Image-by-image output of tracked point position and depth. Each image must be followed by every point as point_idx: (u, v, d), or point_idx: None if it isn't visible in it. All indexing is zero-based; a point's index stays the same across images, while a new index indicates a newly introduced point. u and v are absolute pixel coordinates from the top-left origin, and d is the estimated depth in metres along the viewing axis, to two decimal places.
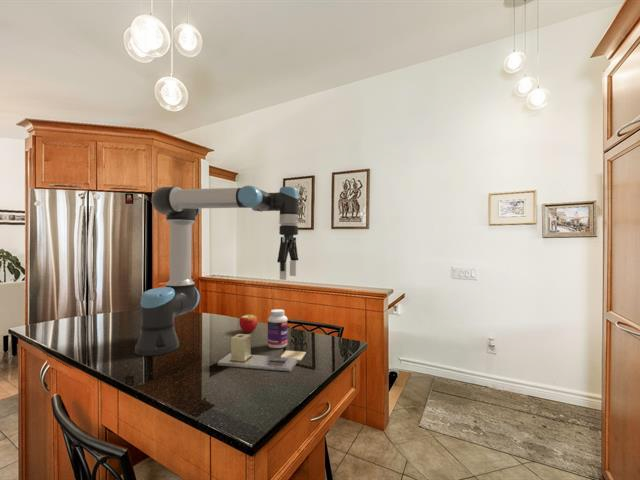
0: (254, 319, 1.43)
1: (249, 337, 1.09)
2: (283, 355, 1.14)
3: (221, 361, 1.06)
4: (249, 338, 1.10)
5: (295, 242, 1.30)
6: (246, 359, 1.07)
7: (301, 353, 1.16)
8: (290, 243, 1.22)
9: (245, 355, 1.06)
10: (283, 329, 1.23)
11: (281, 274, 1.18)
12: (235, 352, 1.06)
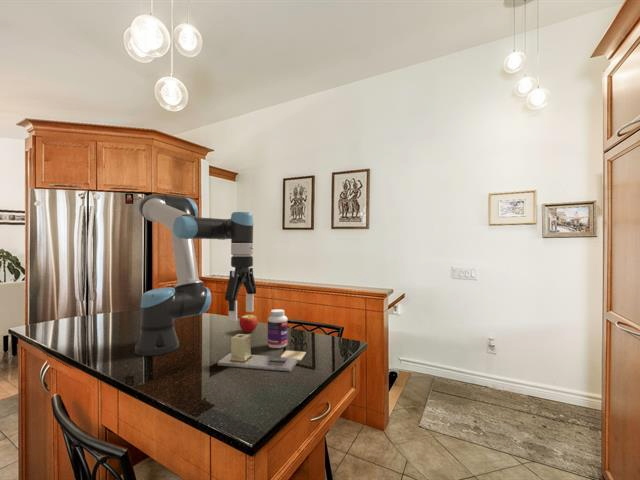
0: (254, 319, 1.43)
1: (249, 337, 1.09)
2: (283, 355, 1.14)
3: (221, 361, 1.06)
4: (249, 338, 1.10)
5: (252, 273, 1.14)
6: (246, 359, 1.07)
7: (301, 353, 1.16)
8: (242, 277, 1.06)
9: (245, 355, 1.06)
10: (283, 329, 1.23)
11: (230, 314, 1.02)
12: (235, 352, 1.06)
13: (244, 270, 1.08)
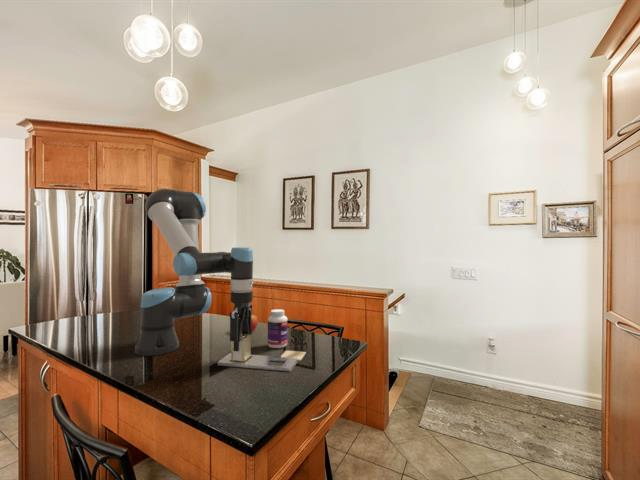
0: (254, 319, 1.43)
1: (249, 337, 1.09)
2: (283, 355, 1.14)
3: (221, 361, 1.06)
4: (249, 338, 1.10)
5: (250, 310, 1.14)
6: (246, 359, 1.07)
7: (301, 353, 1.16)
8: (242, 315, 1.06)
9: (245, 355, 1.06)
10: (283, 329, 1.23)
11: (234, 354, 1.05)
12: None
13: (244, 305, 1.08)
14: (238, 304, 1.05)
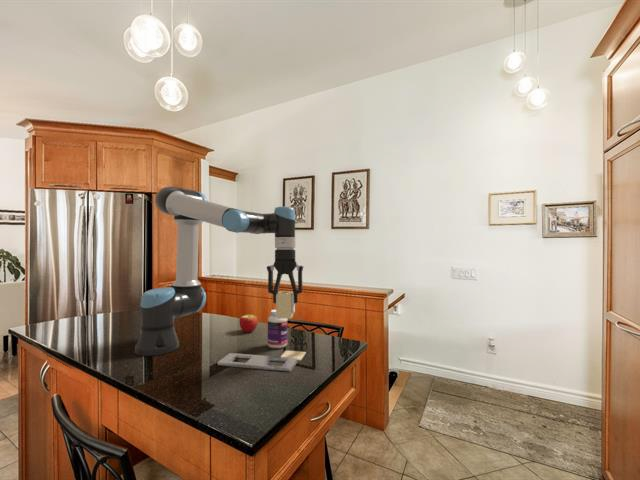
0: (254, 319, 1.43)
1: (287, 295, 1.10)
2: (283, 355, 1.14)
3: (221, 361, 1.06)
4: (288, 296, 1.10)
5: (299, 271, 1.11)
6: (281, 314, 1.10)
7: (301, 353, 1.16)
8: (278, 270, 1.12)
9: (279, 310, 1.10)
10: (283, 329, 1.23)
11: None
12: None
13: (283, 263, 1.12)
14: (275, 260, 1.13)
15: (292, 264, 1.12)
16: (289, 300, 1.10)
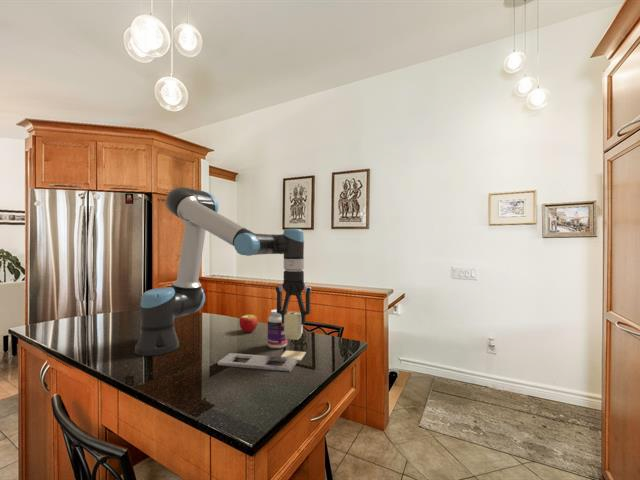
0: (254, 319, 1.43)
1: (295, 316, 1.12)
2: (283, 355, 1.14)
3: (221, 361, 1.06)
4: (296, 318, 1.11)
5: (306, 293, 1.12)
6: (288, 335, 1.12)
7: (301, 353, 1.16)
8: (286, 292, 1.13)
9: (286, 330, 1.12)
10: (283, 329, 1.23)
11: None
12: None
13: (292, 284, 1.13)
14: None
15: (300, 286, 1.13)
16: (296, 321, 1.11)
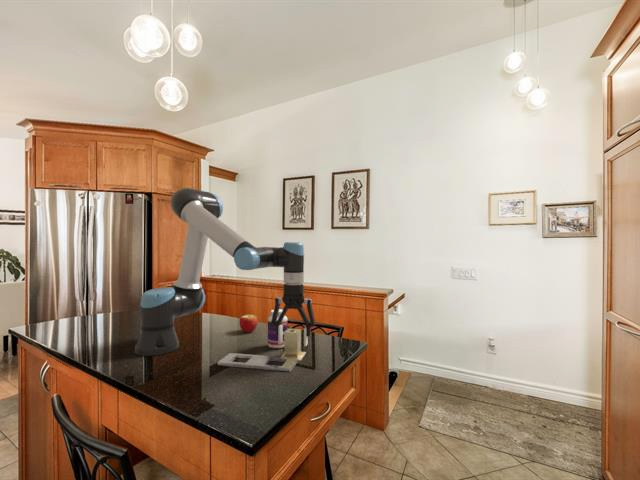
0: (254, 319, 1.43)
1: (294, 334, 1.11)
2: (283, 355, 1.14)
3: (221, 361, 1.06)
4: (295, 336, 1.11)
5: (307, 305, 1.12)
6: (288, 353, 1.12)
7: (301, 353, 1.16)
8: (285, 304, 1.13)
9: (286, 348, 1.12)
10: (283, 329, 1.23)
11: None
12: None
13: (291, 298, 1.13)
14: (284, 294, 1.14)
15: (300, 299, 1.13)
16: (296, 339, 1.11)
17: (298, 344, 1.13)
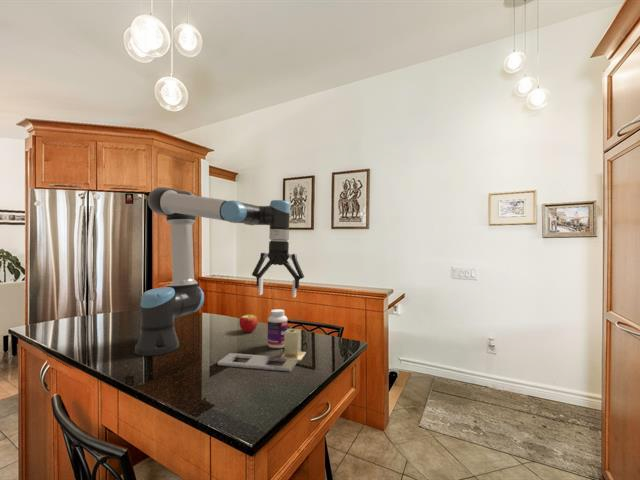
0: (254, 319, 1.43)
1: (294, 334, 1.11)
2: (283, 355, 1.14)
3: (221, 361, 1.06)
4: (295, 336, 1.11)
5: (292, 259, 1.16)
6: (288, 353, 1.12)
7: (301, 353, 1.16)
8: None
9: (286, 348, 1.12)
10: (283, 329, 1.23)
11: None
12: None
13: (276, 254, 1.17)
14: (271, 250, 1.18)
15: (284, 256, 1.16)
16: (296, 339, 1.11)
17: (298, 344, 1.13)
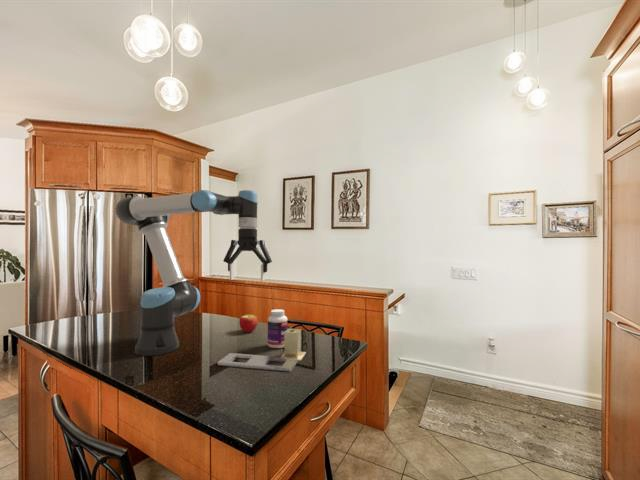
0: (254, 319, 1.43)
1: (294, 334, 1.11)
2: (283, 355, 1.14)
3: (221, 361, 1.06)
4: (295, 336, 1.11)
5: (260, 245, 1.24)
6: (288, 353, 1.12)
7: (301, 353, 1.16)
8: (239, 246, 1.25)
9: (286, 348, 1.12)
10: (283, 329, 1.23)
11: None
12: None
13: (245, 241, 1.26)
14: (240, 237, 1.27)
15: (253, 242, 1.25)
16: (296, 339, 1.11)
17: (298, 344, 1.13)
